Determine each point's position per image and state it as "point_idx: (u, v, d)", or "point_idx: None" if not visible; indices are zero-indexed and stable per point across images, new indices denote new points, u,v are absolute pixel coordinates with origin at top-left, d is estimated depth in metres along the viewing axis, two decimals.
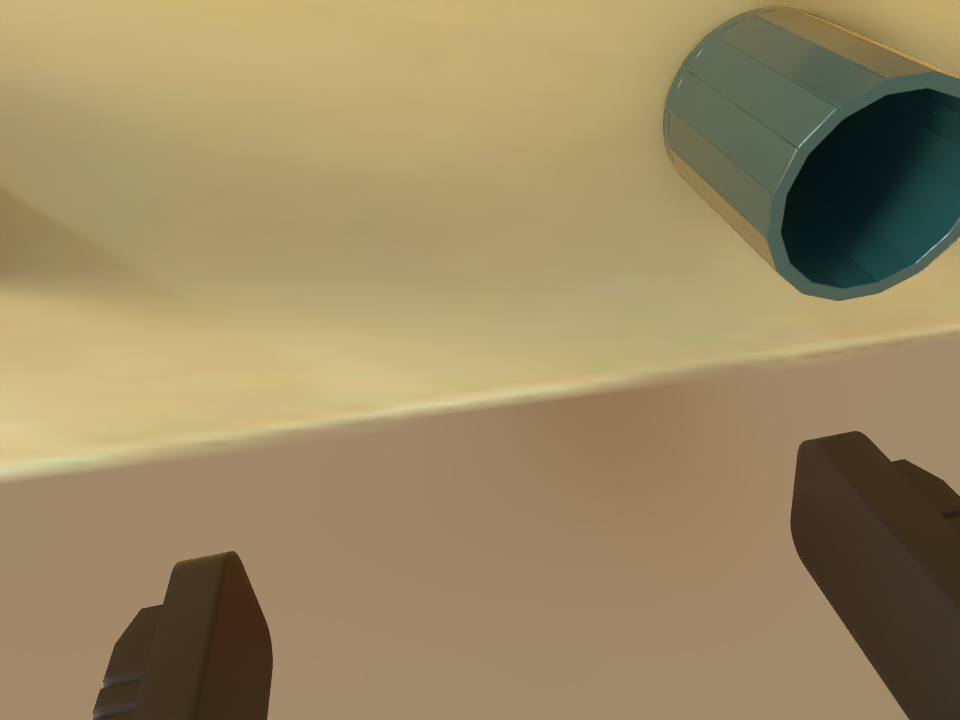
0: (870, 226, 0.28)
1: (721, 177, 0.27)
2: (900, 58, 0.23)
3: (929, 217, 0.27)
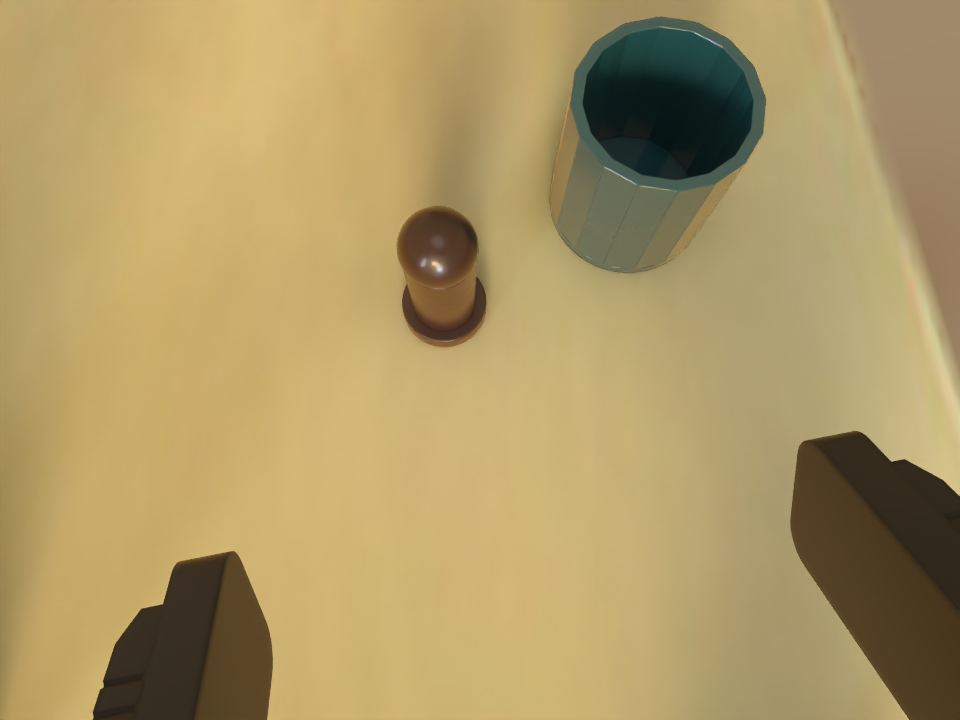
0: (701, 86, 0.33)
1: (676, 224, 0.33)
2: (566, 126, 0.31)
3: (683, 48, 0.32)
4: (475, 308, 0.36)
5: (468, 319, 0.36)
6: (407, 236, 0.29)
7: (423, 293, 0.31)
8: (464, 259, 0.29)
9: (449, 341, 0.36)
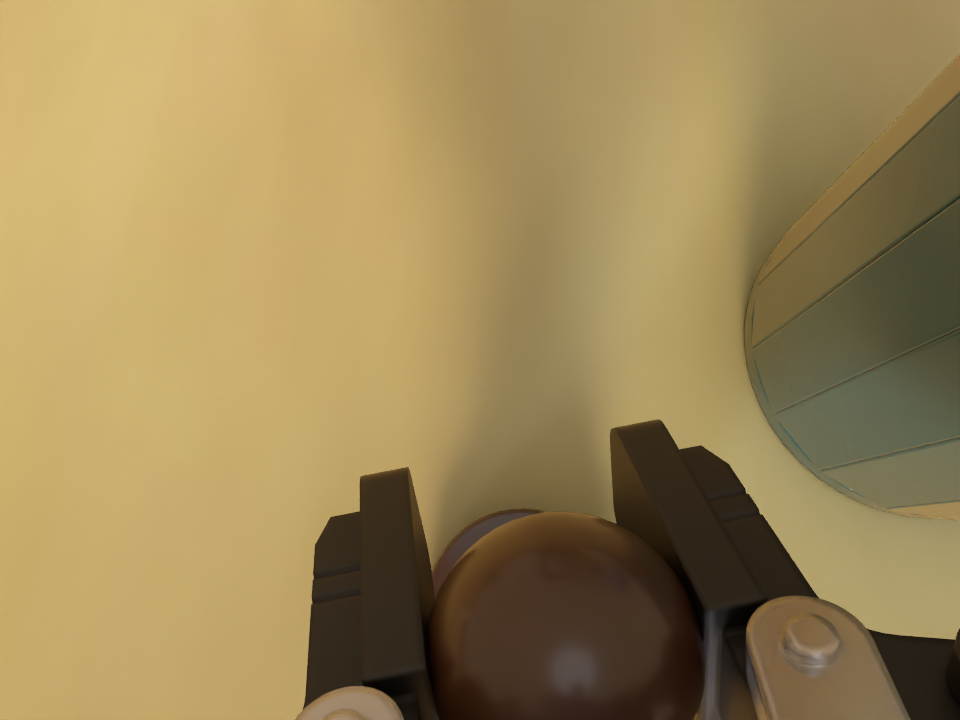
0: None
1: None
2: (934, 229, 0.10)
3: None
4: None
5: None
6: (468, 666, 0.08)
7: None
8: None
9: None
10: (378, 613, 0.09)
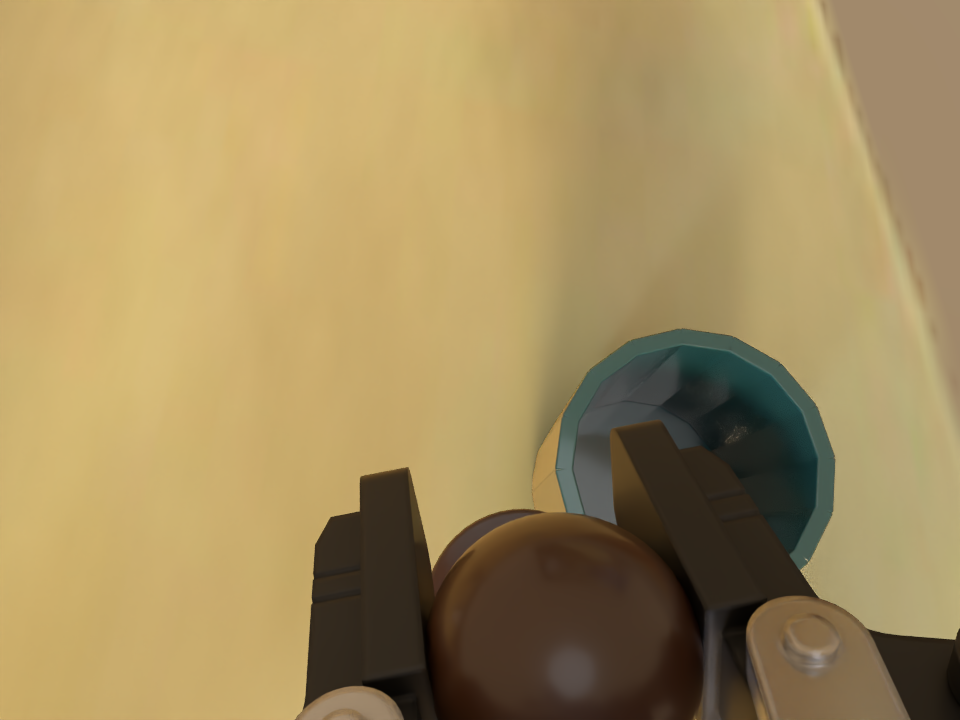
0: (736, 393, 0.24)
1: None
2: (551, 480, 0.22)
3: (713, 360, 0.23)
4: None
5: None
6: (467, 666, 0.08)
7: None
8: None
9: None
10: (378, 613, 0.09)
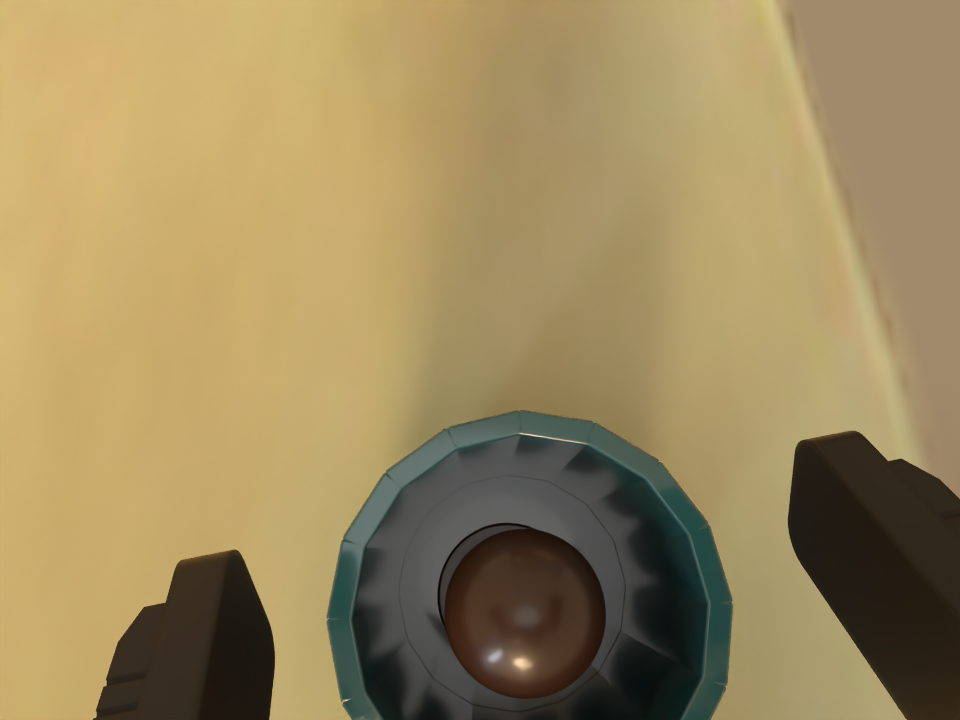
0: (618, 487, 0.18)
1: None
2: None
3: (575, 450, 0.16)
4: None
5: None
6: (469, 615, 0.14)
7: None
8: (585, 660, 0.14)
9: None
10: None
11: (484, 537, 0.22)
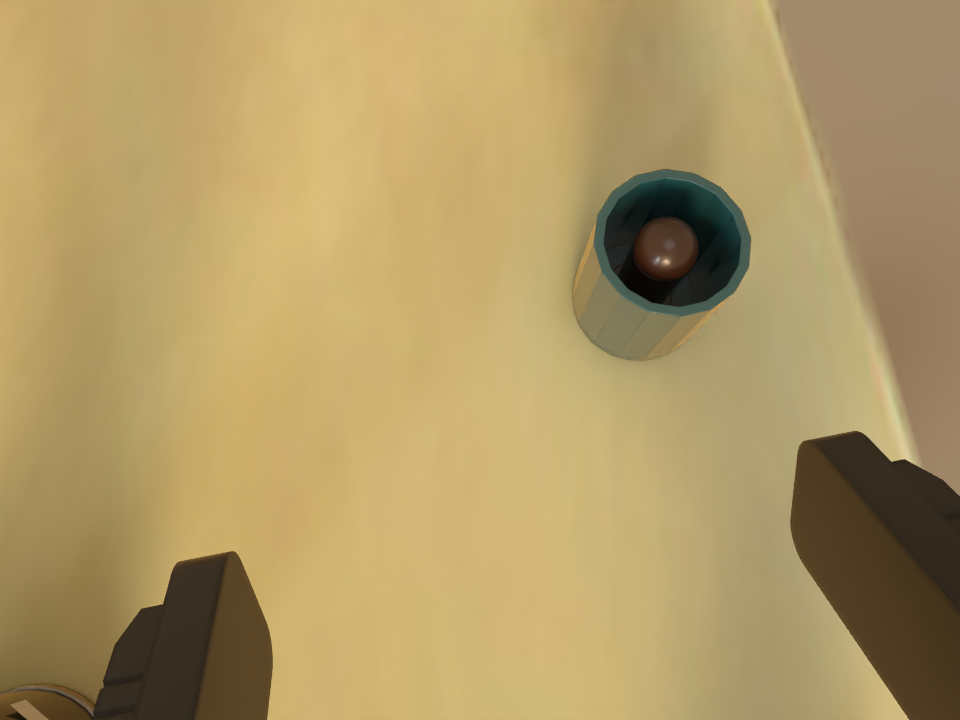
0: (699, 217, 0.41)
1: (679, 332, 0.40)
2: (590, 257, 0.39)
3: (684, 191, 0.39)
4: None
5: None
6: (648, 240, 0.37)
7: (647, 285, 0.39)
8: (692, 258, 0.37)
9: None
10: None
11: None
